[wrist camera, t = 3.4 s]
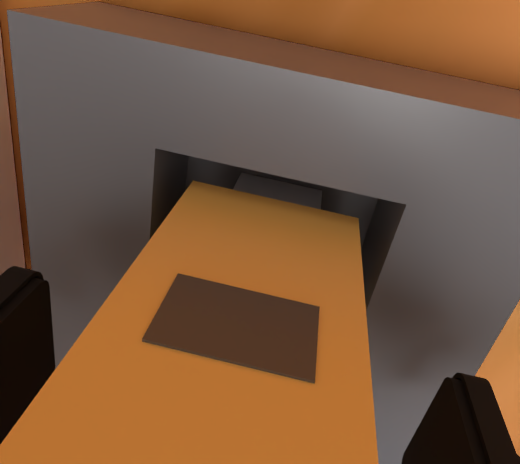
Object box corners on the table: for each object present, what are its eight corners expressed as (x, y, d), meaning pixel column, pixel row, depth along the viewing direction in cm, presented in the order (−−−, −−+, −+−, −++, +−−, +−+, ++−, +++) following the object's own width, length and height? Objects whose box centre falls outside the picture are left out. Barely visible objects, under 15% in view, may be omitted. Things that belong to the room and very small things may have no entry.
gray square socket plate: (390, 397, 18) (403, 497, 15) (99, 326, 19) (44, 406, 15) (535, 93, 12) (613, 139, 9) (98, 1, 13) (7, 9, 9)
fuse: (355, 176, 13) (391, 587, 4) (307, 336, 16) (268, 765, 7) (217, 145, 13) (-27, 477, 4) (195, 309, 16) (26, 696, 7)
